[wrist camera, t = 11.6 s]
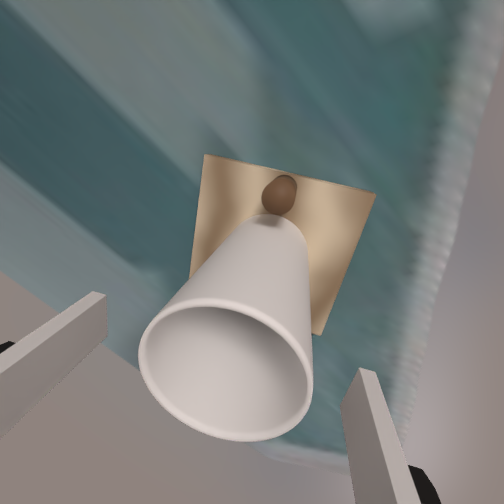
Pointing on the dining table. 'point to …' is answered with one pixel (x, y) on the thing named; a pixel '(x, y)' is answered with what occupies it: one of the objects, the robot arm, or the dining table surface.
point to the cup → (237, 337)
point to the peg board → (291, 208)
